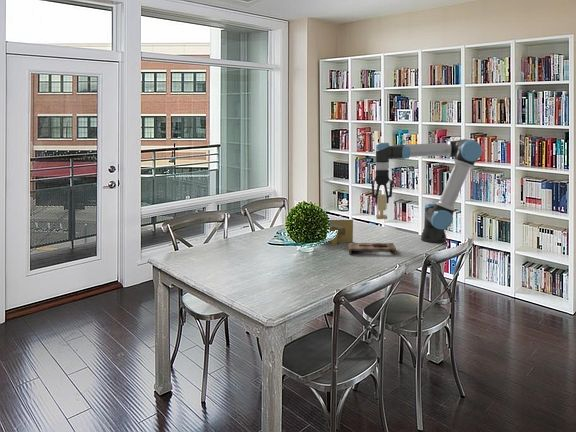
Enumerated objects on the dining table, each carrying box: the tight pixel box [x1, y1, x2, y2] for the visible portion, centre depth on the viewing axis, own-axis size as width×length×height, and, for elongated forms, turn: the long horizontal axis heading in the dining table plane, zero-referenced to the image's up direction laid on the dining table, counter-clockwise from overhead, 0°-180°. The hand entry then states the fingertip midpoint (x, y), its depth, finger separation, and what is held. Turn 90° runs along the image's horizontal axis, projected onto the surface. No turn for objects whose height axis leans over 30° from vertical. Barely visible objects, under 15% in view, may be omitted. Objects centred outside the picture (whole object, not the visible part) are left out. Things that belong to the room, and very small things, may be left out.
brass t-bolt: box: [375, 193, 388, 220], centre depth 297 cm, size 6×6×14 cm
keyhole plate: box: [347, 242, 397, 255], centre depth 288 cm, size 26×13×4 cm, turn 86°
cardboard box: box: [329, 219, 354, 246], centre depth 308 cm, size 23×9×15 cm, turn 84°
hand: (381, 208), depth 298 cm, fingers closed on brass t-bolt, 4 cm apart
